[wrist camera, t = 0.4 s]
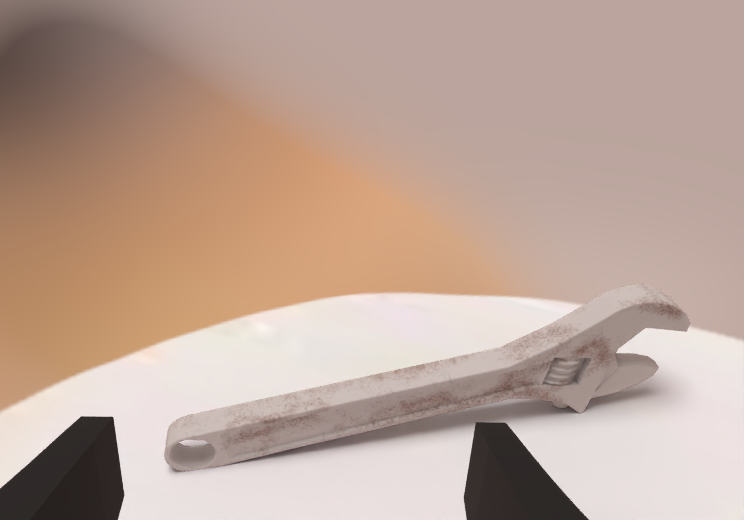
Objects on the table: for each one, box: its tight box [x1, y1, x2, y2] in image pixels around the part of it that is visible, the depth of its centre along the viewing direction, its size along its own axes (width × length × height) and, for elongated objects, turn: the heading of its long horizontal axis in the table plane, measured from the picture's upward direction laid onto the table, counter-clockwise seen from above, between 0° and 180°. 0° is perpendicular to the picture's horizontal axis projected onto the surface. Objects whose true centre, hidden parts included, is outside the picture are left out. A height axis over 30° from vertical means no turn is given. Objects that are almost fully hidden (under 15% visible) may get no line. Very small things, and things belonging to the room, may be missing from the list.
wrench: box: [164, 284, 690, 472], centre depth 36 cm, size 8×2×30 cm
